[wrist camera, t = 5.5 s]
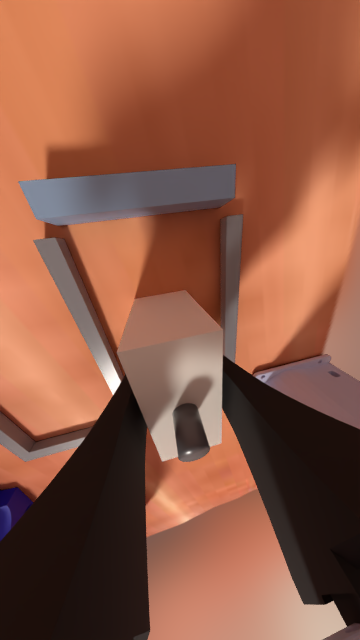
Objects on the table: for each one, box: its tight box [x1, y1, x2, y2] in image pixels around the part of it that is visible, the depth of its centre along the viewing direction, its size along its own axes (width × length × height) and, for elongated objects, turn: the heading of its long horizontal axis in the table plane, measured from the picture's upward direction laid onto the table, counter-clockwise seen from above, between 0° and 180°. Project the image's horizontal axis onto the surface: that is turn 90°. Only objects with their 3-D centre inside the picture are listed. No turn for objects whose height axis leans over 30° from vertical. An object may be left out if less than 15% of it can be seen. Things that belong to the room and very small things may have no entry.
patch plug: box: [117, 290, 223, 462], centre depth 8 cm, size 4×8×8 cm, turn 7°
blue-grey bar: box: [18, 164, 236, 226], centre depth 7 cm, size 9×1×2 cm, turn 97°
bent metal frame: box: [0, 214, 243, 462], centre depth 11 cm, size 21×17×1 cm
